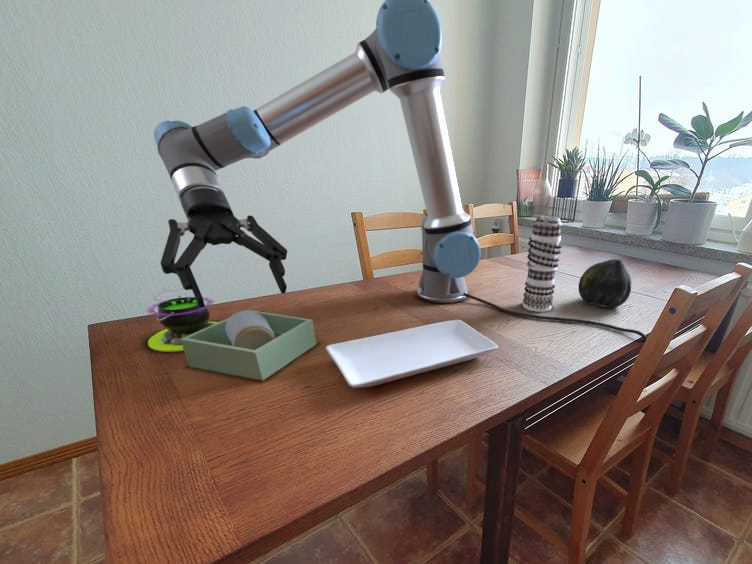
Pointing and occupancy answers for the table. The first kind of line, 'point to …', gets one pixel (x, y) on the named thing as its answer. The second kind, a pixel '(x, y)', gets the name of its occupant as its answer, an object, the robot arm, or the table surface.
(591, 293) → the squash
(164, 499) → the table surface
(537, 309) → the decorative candle
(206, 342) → the bin
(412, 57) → the robot arm
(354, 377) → the tray
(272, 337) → the ceramic mug
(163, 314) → the toy cauldron
